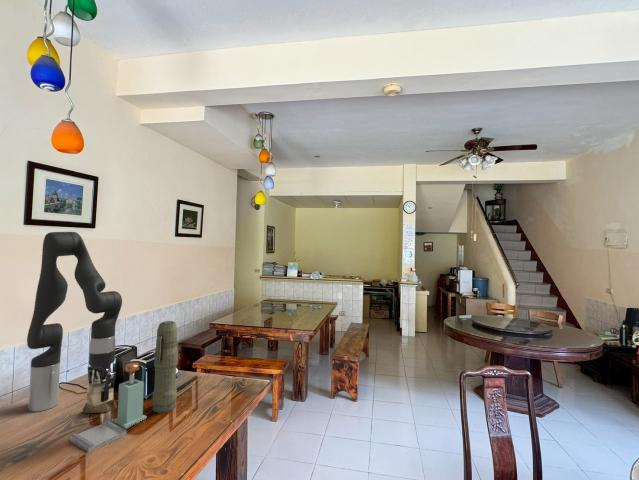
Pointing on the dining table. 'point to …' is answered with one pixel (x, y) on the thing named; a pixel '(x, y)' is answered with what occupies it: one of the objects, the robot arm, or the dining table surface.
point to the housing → (96, 394)
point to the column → (130, 404)
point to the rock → (100, 407)
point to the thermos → (165, 368)
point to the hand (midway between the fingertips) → (100, 398)
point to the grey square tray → (98, 436)
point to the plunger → (132, 371)
